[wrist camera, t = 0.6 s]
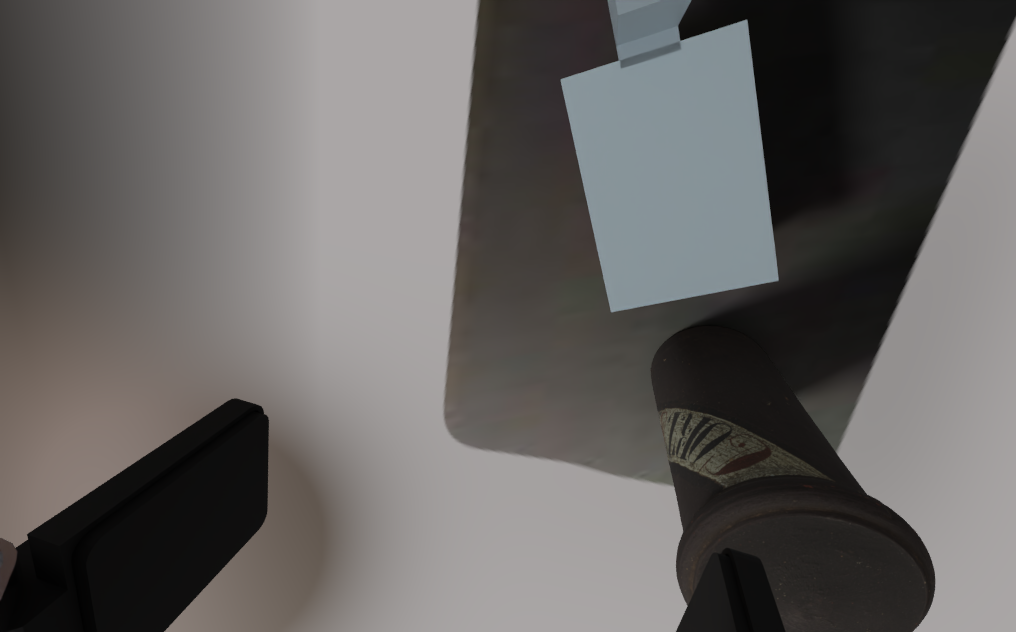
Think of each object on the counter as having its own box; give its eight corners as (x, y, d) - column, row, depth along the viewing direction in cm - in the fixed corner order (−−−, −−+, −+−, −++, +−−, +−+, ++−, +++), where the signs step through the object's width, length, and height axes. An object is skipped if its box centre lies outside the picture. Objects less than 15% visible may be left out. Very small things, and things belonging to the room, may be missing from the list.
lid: (729, -40, 25) (780, -121, 17) (768, 272, 29) (823, 315, 21) (550, 23, 27) (527, -24, 20) (611, 303, 31) (610, 351, 24)
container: (669, 305, 36) (731, 475, 17) (796, 340, 35) (1009, 562, 16) (632, 406, 39) (650, 645, 20) (748, 441, 38) (879, 726, 19)
